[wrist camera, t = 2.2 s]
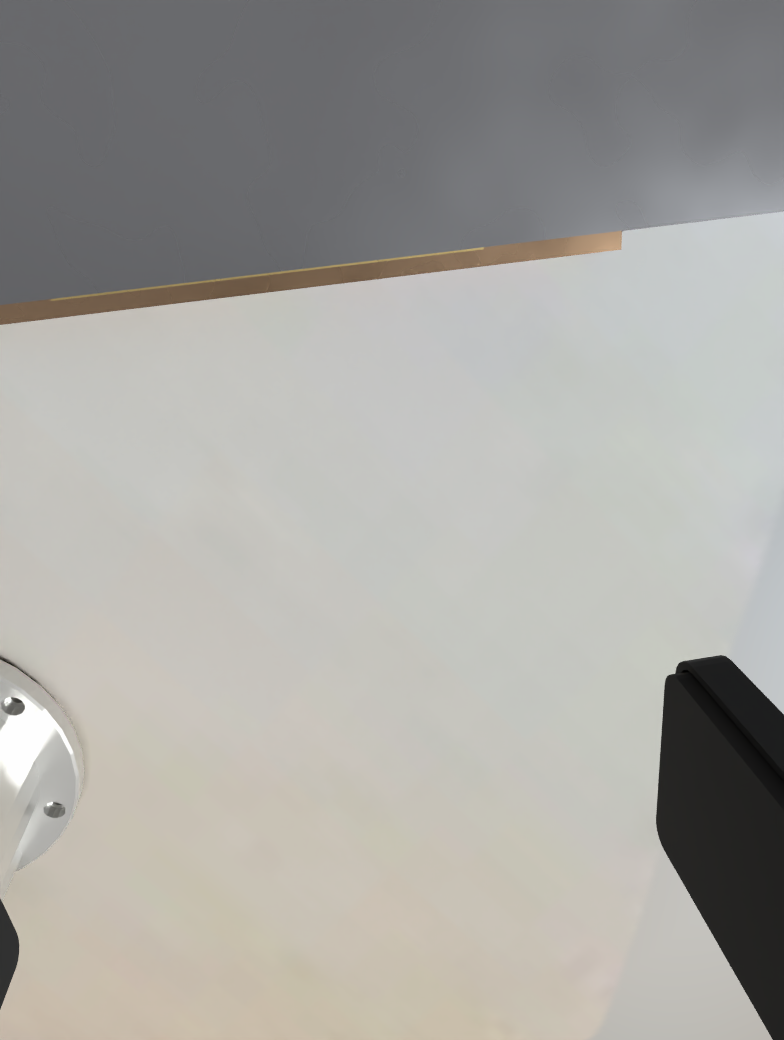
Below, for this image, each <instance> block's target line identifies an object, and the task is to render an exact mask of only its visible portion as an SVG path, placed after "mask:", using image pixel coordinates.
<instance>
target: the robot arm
mask: <svg viewBox="0 0 784 1040" xmlns="http://www.w3.org/2000/svg"><path fill="white" fill-rule="evenodd" d="M84 773H85V771H84V762H83V752H82V748H81V745H80V743H79V740H78V737H77V734H76V732H75V729H74V727H73V725H72V724H71V722H70V721H69V719H68V718H67V716H66V714H65V713H64V711H63V710H62V708H61V707H60V705H59V704H58V703H57V702H56V701H55V700H54V699H53V698H52V697H51V696H50V695H49V694H48V693H47V692H46V691H45V690H44V689H43V688H42V687H41V686H40V685H39V684H37V683H36V682H35V681H33V680H32V679H31V678H29V677H28V676H27V675H25V674H24V673H23V672H21V671H20V670H19V669H17V668H15V667H13V666H12V665H10V664H8V663H6V662H4V661H2V660H0V1009H1V1006H2V1003H3V1001H4V998H5V995H6V993H7V990H8V987H9V985H10V982H11V979H12V977H13V974H14V971H15V969H16V965H17V962H18V956H19V940H18V936H17V933H16V931H15V928H14V926H13V924H12V922H11V920H10V918H9V916H8V914H7V912H6V909H5V907H4V905H3V903H2V901H3V899H4V896H5V894H6V892H7V889H8V887H9V885H10V882H11V880H12V878H13V876H14V873H15V872H16V871H18V870H20V869H22V868H24V867H26V866H28V865H29V864H30V863H32V862H33V861H35V860H36V859H38V858H39V857H41V856H42V855H43V854H45V853H46V852H47V851H48V850H49V849H50V848H51V847H52V846H53V845H54V844H55V843H56V842H57V841H58V839H59V838H60V837H61V836H62V835H63V833H64V831H65V829H66V828H67V826H68V824H69V823H70V821H71V819H72V818H73V815H74V812H75V809H76V807H77V804H78V801H79V799H80V796H81V793H82V786H83V780H84ZM656 825H657V831H658V835H659V839H660V841H661V844H662V846H663V848H664V850H665V852H666V854H667V856H668V858H669V859H670V861H671V863H672V864H673V866H674V868H675V869H676V871H677V873H678V875H679V876H680V878H681V880H682V882H683V884H684V885H685V887H686V889H687V891H688V892H689V894H690V896H691V898H692V899H693V901H694V903H695V905H696V906H697V908H698V910H699V911H700V913H701V915H702V917H703V919H704V920H705V922H706V924H707V926H708V927H709V929H710V931H711V933H712V934H713V936H714V938H715V940H716V941H717V943H718V945H719V947H720V948H721V950H722V952H723V954H724V955H725V957H726V959H727V961H728V962H729V964H730V966H731V967H732V969H733V971H734V973H735V974H736V976H737V978H738V980H739V981H740V983H741V985H742V987H743V988H744V990H745V992H746V994H747V995H748V997H749V999H750V1001H751V1002H752V1004H753V1005H754V1008H755V1009H756V1011H757V1013H758V1014H759V1016H760V1018H761V1020H762V1022H763V1023H764V1025H765V1027H766V1029H767V1030H768V1032H769V1034H770V1035H771V1037H772V1039H773V1040H784V715H783V714H782V712H781V711H779V710H778V708H777V707H776V706H775V705H774V704H773V703H772V702H771V701H770V700H769V699H768V698H767V697H766V696H765V695H764V694H763V693H762V692H761V691H760V690H759V689H758V688H757V687H756V686H755V685H754V684H753V683H752V682H751V680H749V678H748V677H747V676H746V675H745V674H744V673H743V672H742V671H741V670H740V669H739V668H738V667H737V666H736V665H735V664H734V663H733V662H732V661H731V660H730V659H729V658H727V657H726V656H722V655H720V656H713V657H707V658H701V659H695V660H689V661H683V662H681V663H679V664H678V666H677V668H676V673H675V674H672V675H669V676H667V678H666V681H665V690H664V706H663V721H662V737H661V752H660V768H659V783H658V799H657V814H656Z"/></svg>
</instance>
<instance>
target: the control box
mask: <svg viewBox="0 0 784 1040" xmlns="http://www.w3.org/2000/svg"><path fill="white" fill-rule="evenodd" d="M783 211H784V0H0V325H2V324H11V323H19V322H27V321H35V320H44V319H52V318H60V317H68V316H77V315H85V314H93V313H101V312H110V311H118V310H126V309H134V308H143V307H151V306H159V305H167V304H175V303H184V302H192V301H200V300H208V299H217V298H225V297H233V296H241V295H250V294H258V293H266V292H274V291H283V290H291V289H299V288H307V287H316V286H324V285H332V284H340V283H349V282H357V281H365V280H373V279H382V278H390V277H398V276H406V275H415V274H423V273H431V272H439V271H448V270H456V269H464V268H472V267H480V266H489V265H497V264H505V263H513V262H522V261H530V260H538V259H546V258H555V257H563V256H571V255H579V254H588V253H596V252H604V251H612V250H621V240H622V231H624V230H633V229H641V228H649V227H658V226H666V225H674V224H683V223H691V222H700V221H708V220H716V219H725V218H733V217H741V216H750V215H758V214H767V213H775V212H783Z"/></svg>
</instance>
